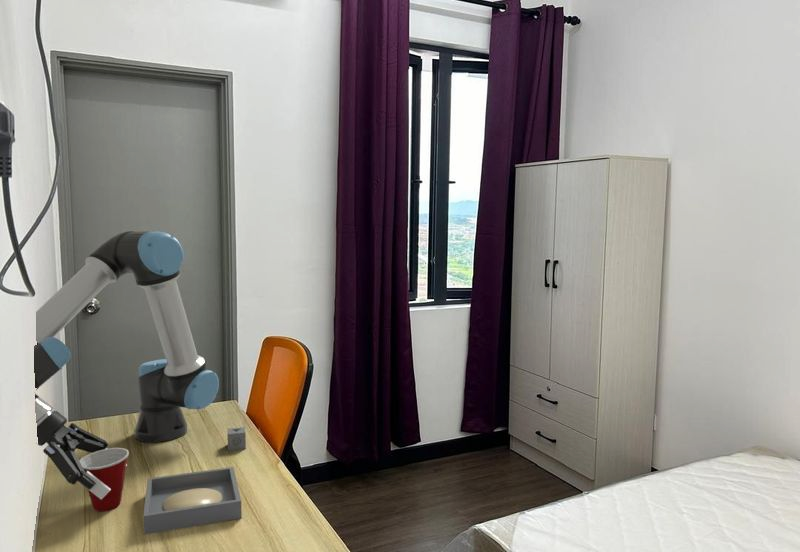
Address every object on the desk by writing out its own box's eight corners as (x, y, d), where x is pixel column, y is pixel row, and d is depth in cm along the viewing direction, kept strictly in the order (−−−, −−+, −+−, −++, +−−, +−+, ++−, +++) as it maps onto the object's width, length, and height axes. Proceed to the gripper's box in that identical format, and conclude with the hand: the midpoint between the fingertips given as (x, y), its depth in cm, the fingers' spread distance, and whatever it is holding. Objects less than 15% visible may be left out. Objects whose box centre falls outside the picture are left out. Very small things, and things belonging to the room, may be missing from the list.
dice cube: (245, 443, 181) (244, 426, 180) (245, 449, 176) (245, 432, 175) (227, 444, 179) (227, 428, 179) (227, 451, 175) (227, 434, 174)
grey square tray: (148, 494, 147) (147, 478, 146) (233, 482, 154) (233, 466, 153) (144, 534, 128) (143, 516, 128) (241, 518, 135) (241, 500, 135)
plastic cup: (74, 504, 142) (72, 454, 141) (124, 491, 148) (121, 443, 147) (85, 522, 133) (82, 469, 132) (137, 507, 140) (135, 457, 139)
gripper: (50, 416, 149) (118, 471, 153) (2, 455, 124) (85, 519, 128) (72, 394, 149) (139, 449, 153) (29, 428, 125) (110, 493, 129)
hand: (115, 481), depth 141 cm, fingers open, 13 cm apart
